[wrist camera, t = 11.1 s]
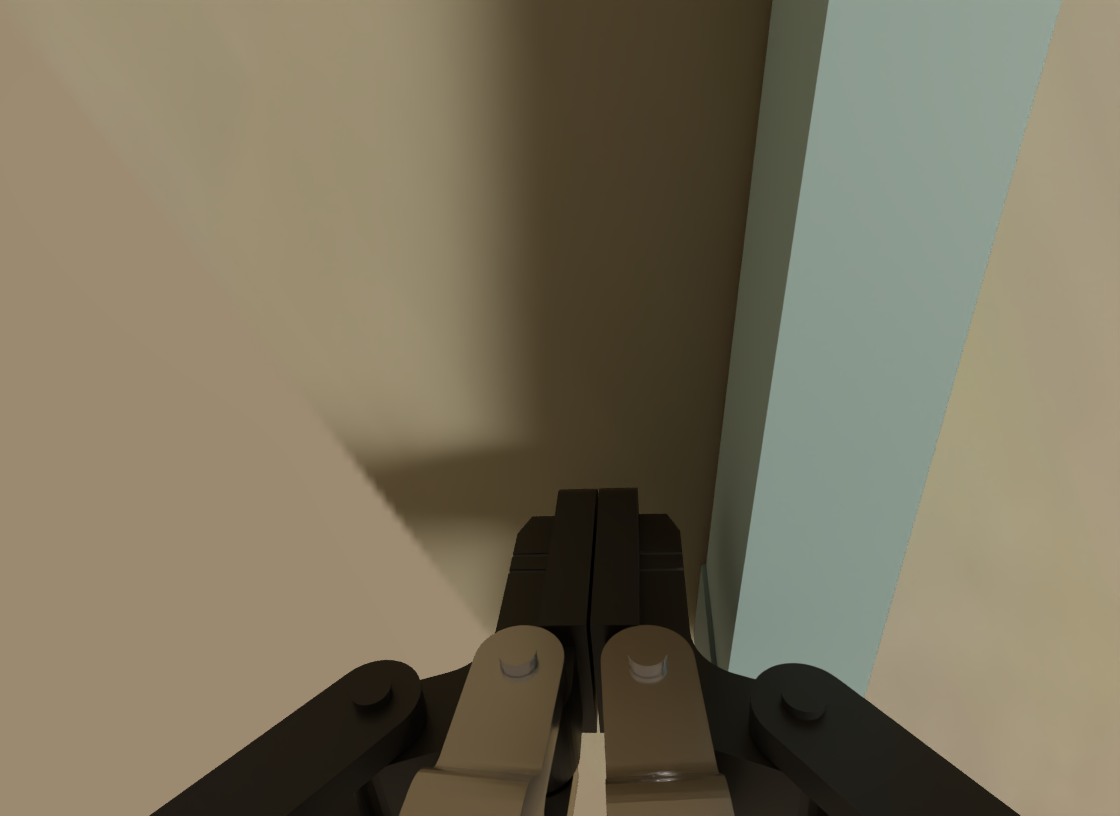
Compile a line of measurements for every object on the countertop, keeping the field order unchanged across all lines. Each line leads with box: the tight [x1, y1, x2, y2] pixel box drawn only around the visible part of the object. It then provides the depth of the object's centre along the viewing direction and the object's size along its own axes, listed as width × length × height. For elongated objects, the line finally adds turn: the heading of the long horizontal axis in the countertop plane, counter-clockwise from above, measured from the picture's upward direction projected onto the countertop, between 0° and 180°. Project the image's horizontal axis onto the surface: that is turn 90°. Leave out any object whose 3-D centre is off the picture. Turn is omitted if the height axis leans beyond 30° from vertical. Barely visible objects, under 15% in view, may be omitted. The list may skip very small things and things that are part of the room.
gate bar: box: [694, 0, 1062, 698], centre depth 11 cm, size 14×2×4 cm, turn 0°
